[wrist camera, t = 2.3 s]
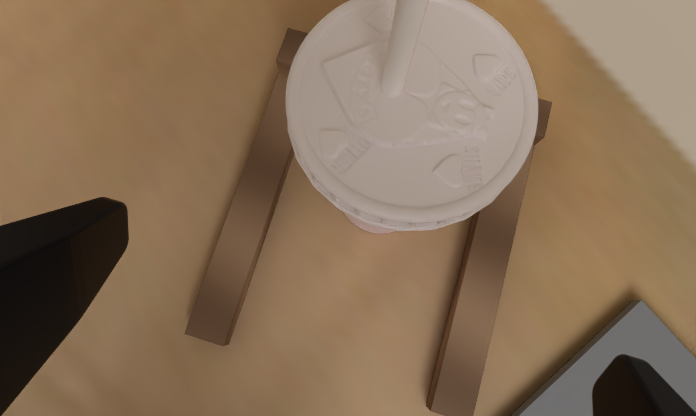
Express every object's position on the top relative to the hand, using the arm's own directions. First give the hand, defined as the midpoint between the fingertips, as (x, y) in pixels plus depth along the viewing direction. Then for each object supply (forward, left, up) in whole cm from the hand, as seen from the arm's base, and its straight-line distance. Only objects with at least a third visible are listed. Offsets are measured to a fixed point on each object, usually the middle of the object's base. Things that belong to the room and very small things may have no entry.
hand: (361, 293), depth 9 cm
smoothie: (+1, +5, -12) cm, 13 cm away
